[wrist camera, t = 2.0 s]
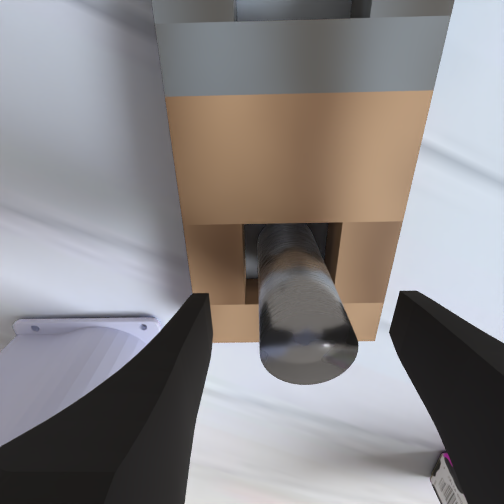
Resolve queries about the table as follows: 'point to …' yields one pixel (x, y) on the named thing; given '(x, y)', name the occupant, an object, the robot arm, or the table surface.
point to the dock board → (296, 140)
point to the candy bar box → (447, 482)
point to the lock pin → (300, 309)
